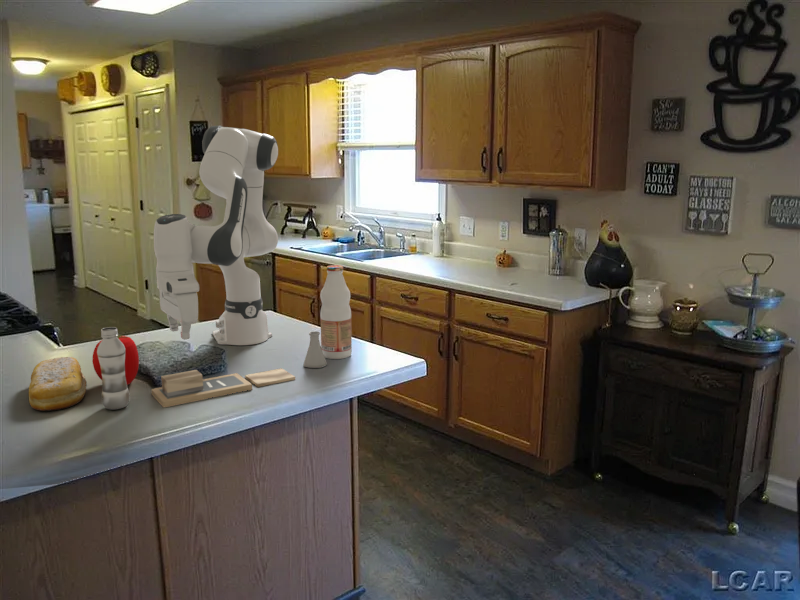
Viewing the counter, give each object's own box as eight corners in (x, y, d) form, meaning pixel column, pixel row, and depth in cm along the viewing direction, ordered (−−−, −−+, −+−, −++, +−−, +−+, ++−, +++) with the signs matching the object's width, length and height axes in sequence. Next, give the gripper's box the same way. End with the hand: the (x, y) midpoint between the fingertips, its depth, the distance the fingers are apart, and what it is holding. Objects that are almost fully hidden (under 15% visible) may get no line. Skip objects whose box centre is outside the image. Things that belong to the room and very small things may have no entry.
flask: (323, 369, 191) (322, 336, 189) (299, 368, 193) (298, 335, 190) (330, 362, 198) (329, 330, 196) (307, 360, 200) (306, 328, 197)
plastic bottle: (102, 414, 158) (94, 333, 153) (102, 404, 164) (94, 327, 160) (131, 410, 160) (124, 331, 156) (130, 401, 166) (123, 324, 162)
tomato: (136, 391, 173) (132, 339, 170) (90, 394, 171) (84, 342, 168) (144, 376, 185) (140, 327, 182) (101, 378, 183) (96, 329, 180)
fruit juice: (320, 360, 200) (318, 269, 194) (321, 351, 209) (319, 264, 203) (352, 359, 201) (350, 268, 195) (351, 350, 210) (350, 263, 204)
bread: (83, 376, 185) (80, 349, 184) (91, 407, 163) (88, 376, 161) (29, 384, 179) (25, 356, 177) (29, 417, 156) (25, 385, 155)
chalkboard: (151, 394, 171) (151, 388, 171) (237, 378, 184) (236, 372, 183) (163, 407, 162) (163, 401, 162) (252, 389, 175) (251, 384, 174)
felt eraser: (162, 390, 169) (161, 376, 168) (197, 384, 174) (196, 369, 173) (167, 396, 165) (166, 381, 164) (203, 389, 170) (202, 374, 169)
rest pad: (245, 377, 184) (245, 375, 184) (281, 370, 190) (281, 368, 190) (257, 387, 177) (257, 384, 176) (295, 379, 183) (295, 376, 183)
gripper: (151, 276, 170) (155, 327, 173) (174, 288, 154) (179, 345, 157) (176, 273, 174) (180, 324, 177) (201, 285, 157) (205, 341, 160)
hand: (179, 334), depth 166 cm, fingers open, 8 cm apart
